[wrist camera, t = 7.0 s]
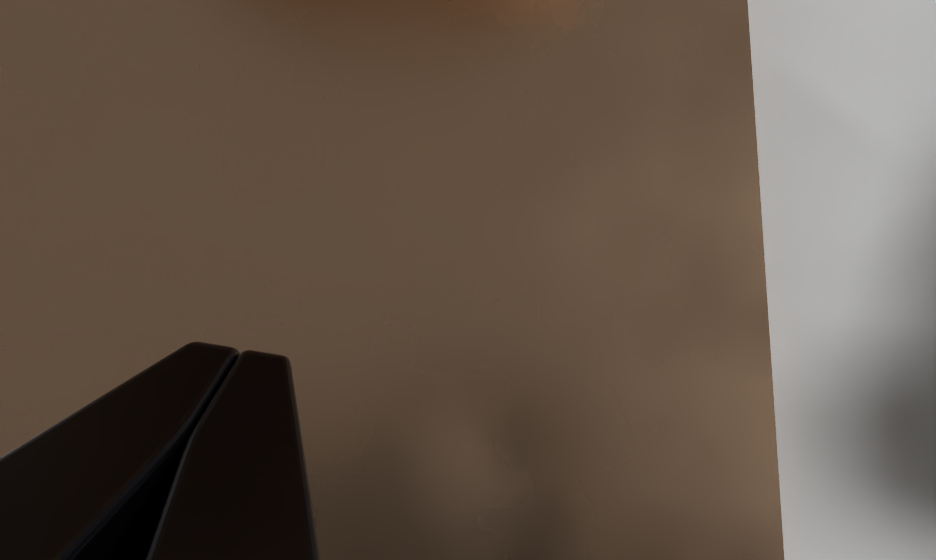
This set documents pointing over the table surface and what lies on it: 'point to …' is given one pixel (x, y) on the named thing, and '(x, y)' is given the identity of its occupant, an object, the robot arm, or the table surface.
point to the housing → (414, 255)
